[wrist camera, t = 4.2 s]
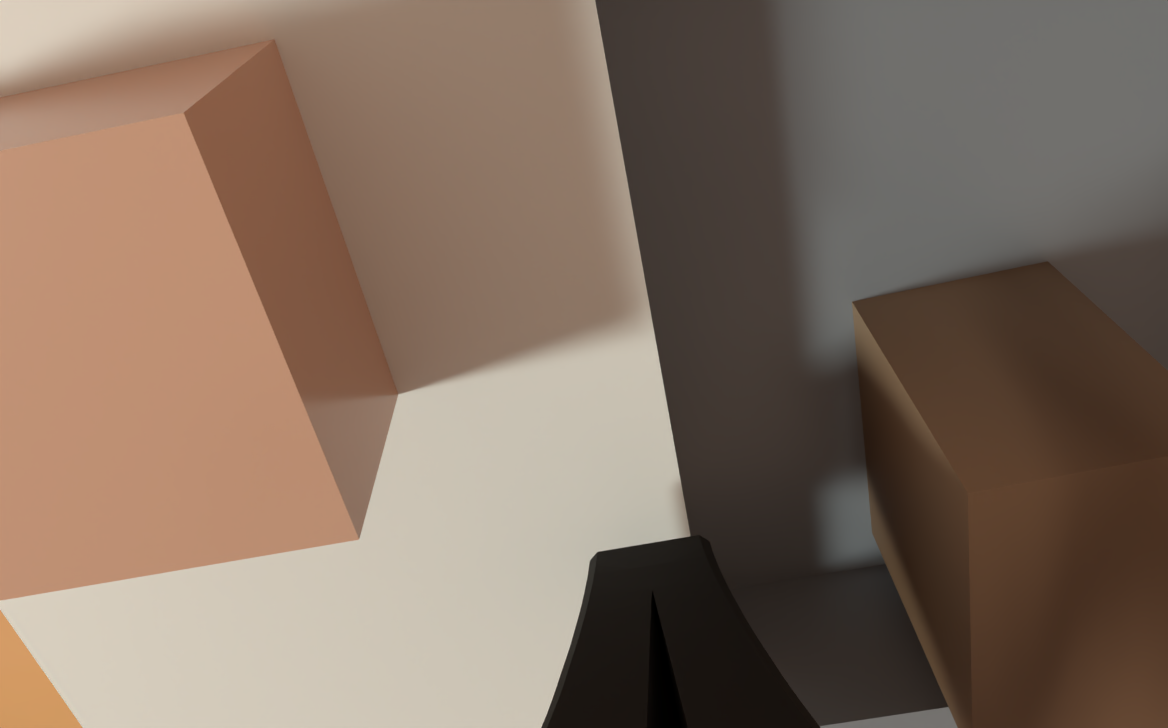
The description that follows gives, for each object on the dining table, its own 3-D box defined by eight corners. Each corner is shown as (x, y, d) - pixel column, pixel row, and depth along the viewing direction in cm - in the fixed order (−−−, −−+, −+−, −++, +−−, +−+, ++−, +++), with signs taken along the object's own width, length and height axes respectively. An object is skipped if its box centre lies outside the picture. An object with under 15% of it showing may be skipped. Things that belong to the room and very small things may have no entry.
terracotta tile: (397, 394, 11) (359, 539, 9) (69, 454, 11) (-48, 608, 9) (274, 39, 9) (184, 113, 7) (-123, 123, 9) (-332, 220, 7)
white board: (701, 603, 15) (720, 703, 14) (175, 687, 16) (128, 793, 14) (565, -157, 10) (567, -151, 8) (-229, 20, 10) (-383, 61, 9)
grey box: (1277, 511, 15) (1431, 660, 12) (701, 603, 15) (731, 764, 13) (1475, -361, 9) (1839, -428, 7) (565, -157, 10) (569, -146, 7)
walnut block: (871, 532, 14) (1040, 501, 14) (973, 762, 11) (1197, 726, 11) (851, 301, 12) (1047, 261, 12) (968, 493, 9) (1245, 441, 9)
